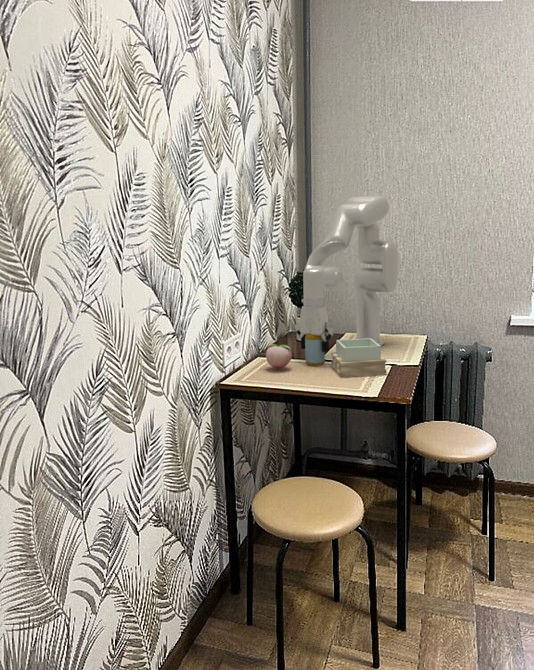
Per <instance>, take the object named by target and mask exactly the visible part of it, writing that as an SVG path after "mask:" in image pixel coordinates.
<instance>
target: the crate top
mask: <svg viewBox="0 0 534 670" xmlns="http://www.w3.org/2000/svg"><path fill="white" fill-rule="evenodd" d="M335 345H336V346H335V347H336V348H335V349H336V350H335V352H336V353H337V355H338V356H339V357H340V358H341V359H342V360H343V361H344V362H349V361H367V360H381V357H382V354H381V353H382V349H381V348H382V346H380V345H379V344H378V343H376V342H375V341H374V340H373V339H371V338H367V339H357V338H355V339H354V338H351V339H336V340H335Z"/></svg>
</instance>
